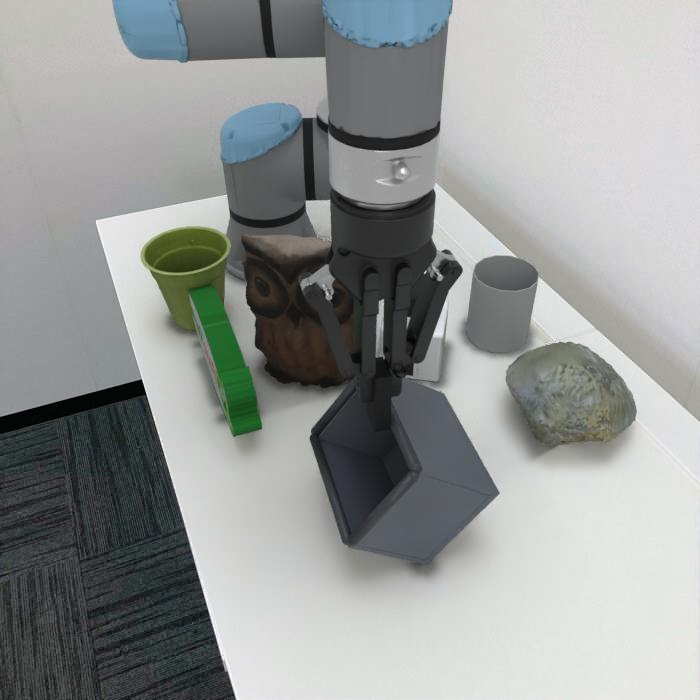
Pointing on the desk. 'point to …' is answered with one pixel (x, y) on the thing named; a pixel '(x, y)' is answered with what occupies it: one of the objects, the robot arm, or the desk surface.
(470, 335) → the cup
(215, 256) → the plant pot
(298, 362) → the owl
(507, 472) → the desk surface
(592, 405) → the decorative stone
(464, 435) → the basket
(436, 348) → the container
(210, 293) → the sign
